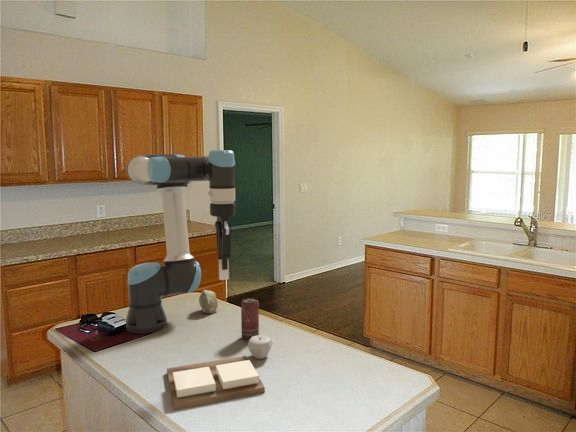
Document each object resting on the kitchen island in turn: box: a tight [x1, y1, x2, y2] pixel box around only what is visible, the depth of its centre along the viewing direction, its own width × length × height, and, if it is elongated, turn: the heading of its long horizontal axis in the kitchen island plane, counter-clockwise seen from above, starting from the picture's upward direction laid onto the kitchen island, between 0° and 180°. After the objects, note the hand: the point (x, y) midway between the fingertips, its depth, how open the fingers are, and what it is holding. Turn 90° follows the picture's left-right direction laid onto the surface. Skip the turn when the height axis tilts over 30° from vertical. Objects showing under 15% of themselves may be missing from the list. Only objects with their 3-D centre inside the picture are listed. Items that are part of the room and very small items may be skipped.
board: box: [166, 355, 266, 410], centre depth 125 cm, size 20×24×2 cm
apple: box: [247, 334, 273, 360], centre depth 141 cm, size 8×8×7 cm
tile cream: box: [216, 359, 260, 389], centre depth 124 cm, size 2×10×10 cm
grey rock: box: [198, 289, 218, 314], centre depth 181 cm, size 9×8×10 cm
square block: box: [173, 367, 216, 398], centre depth 120 cm, size 2×10×10 cm
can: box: [240, 297, 260, 342], centre depth 154 cm, size 6×6×14 cm
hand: (224, 278), depth 135 cm, fingers closed
